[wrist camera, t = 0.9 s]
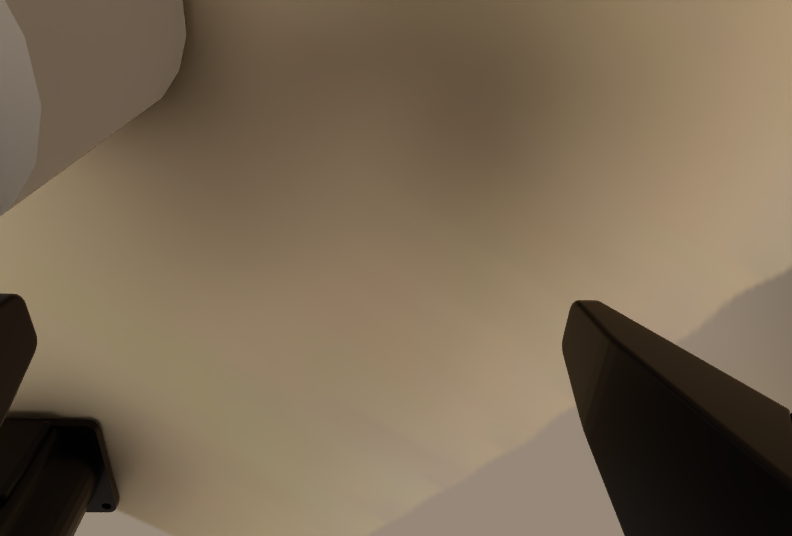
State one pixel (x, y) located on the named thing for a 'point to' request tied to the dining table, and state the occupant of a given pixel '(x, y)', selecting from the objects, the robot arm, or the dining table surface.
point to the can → (77, 79)
